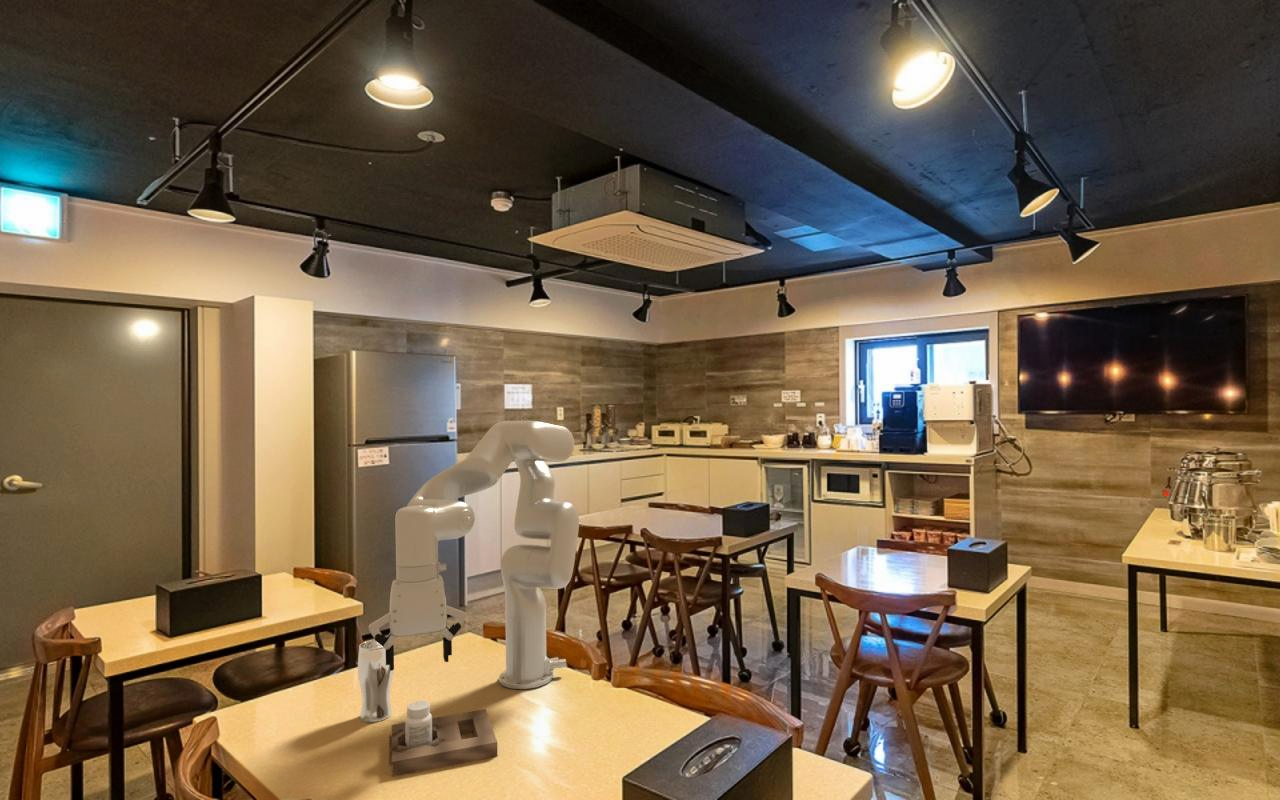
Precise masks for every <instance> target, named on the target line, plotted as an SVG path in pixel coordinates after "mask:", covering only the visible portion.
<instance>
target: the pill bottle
mask: <svg viewBox="0 0 1280 800" xmlns="http://www.w3.org/2000/svg"><path fill="white" fill-rule="evenodd" d="M406 712H407V713H406V714H407V716H406V718H405V719H404V720H405V722H404V723H405V744H406V746H405V747H409V748H412V747H417V746H423V745H427V744H429V743H430V742H432V718H433V716H432V713H431V704H430V702H429V701H427V700H418V701H414V702H411V703H409V704H408V705H407V707H406Z"/></svg>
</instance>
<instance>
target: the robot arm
mask: <svg viewBox="0 0 1280 800" xmlns="http://www.w3.org/2000/svg"><path fill="white" fill-rule="evenodd" d="M574 449H575V439H574V436H573V434H572V432H571V431H570V430H569V428H567V427H565V426H562V425H557V424H553V423H547V422H542V421H537V420H504V421H503V420H502V421H500V422H497V423H495V424H494V425H492V426H491V427H490V428H489V429H488V430H487V432H486V433H485V434H484V435H483V437H482V438H481V439H480V440H479V441H478V443H477V444H476V445H475V447H474V448H473V449H472V450H471V451H470V452H469V454H468V455H467V456H466V458H464V459H463V460H461V461H460V462H457V463H455V464H454V465H451V466H450V467H448V468H446V469H445V470H443V471H441V472H439V473H437V474H436V475H434V476H433V477H431V478H430V479H428V481H426V482H425V483H424V484H423V485H422V486H421V487H420V488H419V490H417V492H416V493H415V494H414V495H413V496H412V498H411V499H410V500H409V502H408V503H407V505H406V506H403V507H401V508H399V509H398V510H397V511H396V512H395V513H396V514H395V517H394V518H395V519H394V520H395V523H394V524H395V525H394V526H395V527H394V528H395V567H396V569H395V571H396V572H395V573H396V577H395V578H396V579H393V580H392V582H391V588H390V592H389V593H390V595H389V596H390V597H389V611H388V613H385V614H384V615H383V616H381V617H379V618H378V619H376V620H374V621H373V622H371V623H370V624H369V625H368V631H369V632H370V634H371V636H372V637H373V639H375V641H377V642H378V643H379V644H380V645H382V646H383V647H384V649H386V665H390V671H393V672H394V670H395V651H394V650H395V648H394V647H395V646H394V645H395V642H396V641H397V640H398V638H406V637H414V636H420V635H421V636H422V635H427V634H434V633H441V635H442V636H443V637H442V653H443V654H442V658H443V661H444V663H448V662H449V656H453V641H452V640H453V639H454V637H455V636H456V634H457V633H458V632H459V631H460V630H461V628H462V625H463V624H464V622H465V620H466V618H467V613H466V612H465V611H463V610H461V609H458V608H455V607H452V606H450V605H447V599H446V598H447V597H446V589H445V583H444V579H443V576H442V575H441V574H440V573H441V572H444V571H447V563H446V562H445V563H442V562H440V561H439V542H440V541H442V540H443V541H444V540H456V539H460V538H463V537H464V536H466V535H467V534H469V533H470V531H471V530H472V529H473V526H474V524H475V520H476V517H475V516H476V515H475V512H474V510H473V508H472V507H471V506H470V505H469V504H468V503H466V502H464V501H463V500H462V501H461V500H458V499H460V498H463V497H465V496H469V495H473V494H476V493H479V492H483V491H484V490H487V489H488V490H489V488H492V487H494V486H495V485H496V484H497V483H498V481H500V479H501V478H502V476H503V475H504V474H505V472H506V470H507V469H508V468H509V466H511V463H513V461H514V463H515V465H516V467H517V470H518V474H519V478H520V481H519V483H520V484H519V490H518V491H519V492H518V497H517V503H516V509H515V514H514V515H515V516H514V531H515V533H516V535H518V537H520V538H523V539H527V540H537V541H550V546H547V545H539V544H537V545H536V544H515V545H512V546H511V547H509V548H507V549H506V550H505V552H504V553H503V554H502V557H501V559H500V573H501V578H502V582H503V588H504V589H503V590H504V602H505V605H504V606H505V669H504V670H503V671H502V672H501V673H500V674H499V676H498V678H499V679H498V680H499V682H498V683H499V684H500V685H501V686H504V687H505V688H508V689H512V690H513V689H514V690H528V689H534V688H539V687H542V686H544V685H547V684H549V682H551V681H552V680H553V678H554V669H561V668H562V669H563V668H567V659H566V658H562V659H561V658H560V659H559V657H558V656H556V657H552V658H549V657H548V656H547V605H546V604H547V603H546V599H545V596H544V593H543V591H542V589H553V590H559V589H563V588H565V587H567V585H568V584H569V582H570V581H571V580H572V576H573V573H574V567H575V560H576V553H577V545H578V537H579V529H580V517H579V513H578V510H577V508H576V507H575V505H573V503H571V502H568V501H565V500H554V495H555V488H556V487H555V486H556V485H555V484H556V481H555V478H554V474H553V472H552V470H551V468H550V467H549V466H548V464H547V462H550V463H555V462H556V463H559V462H560V463H561V462H566V461H567V460H568V459H569V458H570V457H572V455H573V452H574ZM448 615H449V616H451V617H454V618H456V620H455V622H454V623H453V624H452V625H451V626H450V627H449V626H448V624H447V623H448ZM388 623H389V624H388ZM387 624H388V625H389V630H390V631H389V634H388V635H384V634H383V633H382V632H381V631H380V630H379V629H380V628H381V627H383V626H385V625H387Z"/></svg>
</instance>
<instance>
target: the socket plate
mask: <svg viewBox="0 0 1280 800" xmlns="http://www.w3.org/2000/svg"><path fill="white" fill-rule="evenodd" d="M487 711H488V710H487V708H484V709H476V710H471V711H465V712H460V713H453V714H447V715H442V716H436V717H435V716H434V717H432V742H430V743H429V744H427V745H423V746H417V747H412V748H409V747H406V744H405V722H400V723H394V724H391V734H390V735H389V736H388V738H389V740H388V747H389V748H388V749H390V750H389V751H388V754H389V755H388V756H389V757H388V759H389V761H388V762H389V763H388V764H389V765H391V776H393V777H396V775H398V776H402V775H409V774H413V773H418V772H422V771H427V770H432V769H439V768H442V767H448V766H453V765H458V764H463V763H467V762H472V761H479V760H482V759H483V760H484V759H488V758H493V757H498V740H497V737H496V734H495V731H494V729H493V726H492V723H491V720H490V717H489V714H488V712H487ZM468 733H473V736H474V737H469V738H462V736H461V734H468Z"/></svg>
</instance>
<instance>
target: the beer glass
mask: <svg viewBox="0 0 1280 800" xmlns="http://www.w3.org/2000/svg"><path fill="white" fill-rule="evenodd" d="M393 673H394V670H393V671H390V665H386V649H384V647H383V646H382V645H380V644H379V643H378V642H377V641H375V639H374V638H373V639H370V640H366V641H363V642H361V643H360V644H359V645H358V658H357V674H358V680H359V681H358V682H359V686H360V693H361V698H362V699H361V701H362V703H361V705H362V706H361V711H360V717H359V718H360V721H362V723H368V722H369V723H371V722H372V723H378V722H381V720H382V721H384V719H385V720H387V719H388V718H390V717H391V716H392V714H393V713H392V707H391V701H390V699H391V698H390V697H391V696H390V693H391V687H392V682H393V681H392V680H393ZM389 716H390V717H389ZM386 718H387V719H386Z"/></svg>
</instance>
